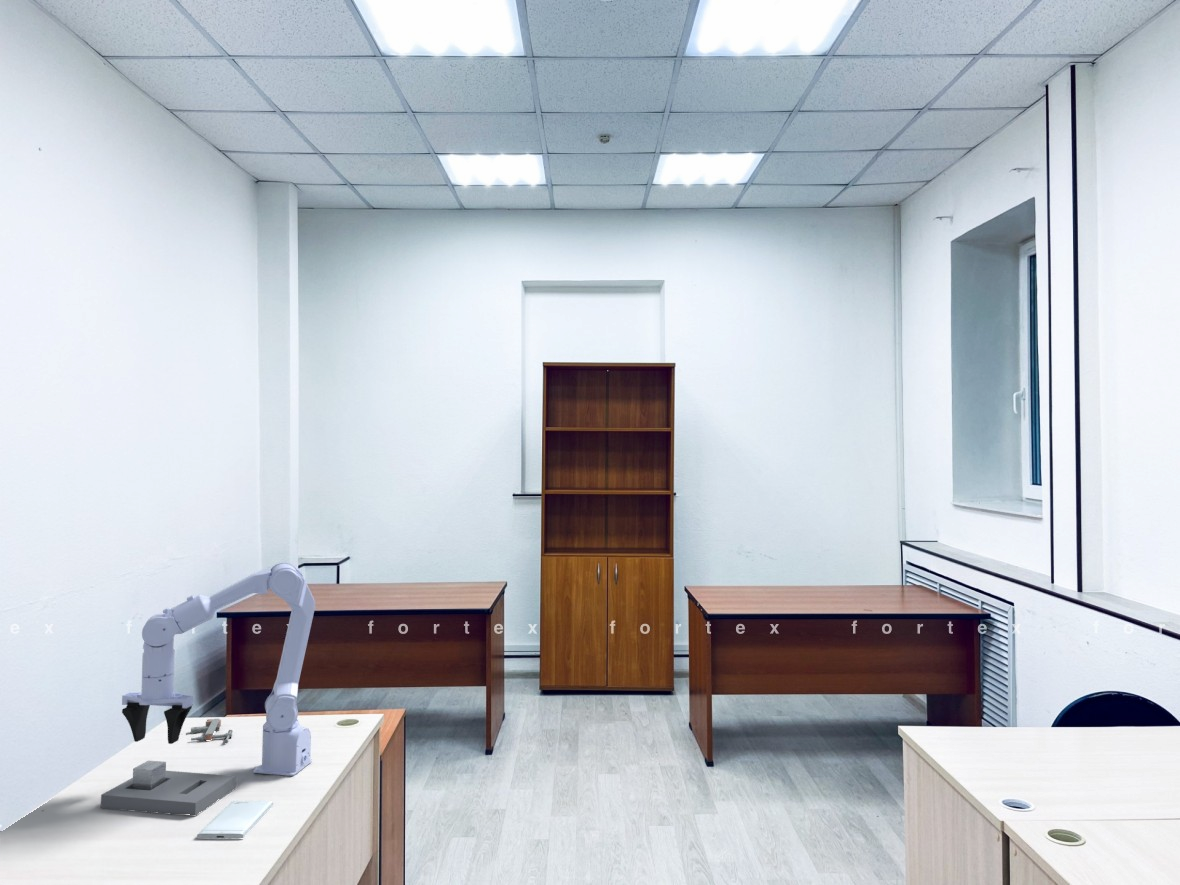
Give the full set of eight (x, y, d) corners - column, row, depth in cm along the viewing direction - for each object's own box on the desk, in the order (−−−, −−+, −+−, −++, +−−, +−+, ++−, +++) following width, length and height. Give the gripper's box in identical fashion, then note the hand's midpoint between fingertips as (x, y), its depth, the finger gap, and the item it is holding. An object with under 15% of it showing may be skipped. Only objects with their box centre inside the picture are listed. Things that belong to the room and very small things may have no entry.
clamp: (194, 720, 182) (238, 715, 185) (194, 728, 182) (237, 724, 185) (181, 741, 168) (229, 737, 171) (181, 751, 168) (228, 746, 171)
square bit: (165, 791, 146) (166, 761, 146) (150, 800, 142) (151, 769, 142) (147, 790, 147) (148, 760, 147) (132, 799, 143) (133, 768, 143)
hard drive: (231, 800, 140) (196, 832, 128) (273, 800, 140) (243, 832, 128) (231, 809, 140) (196, 842, 128) (273, 809, 140) (243, 842, 128)
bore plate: (235, 788, 148) (235, 776, 148) (195, 816, 136) (195, 802, 136) (147, 781, 151) (148, 769, 151) (100, 808, 139) (101, 794, 139)
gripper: (111, 678, 146) (109, 746, 145) (176, 681, 144) (175, 750, 143) (137, 668, 153) (135, 733, 152) (200, 671, 151) (198, 737, 150)
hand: (156, 740), depth 148 cm, fingers open, 7 cm apart
